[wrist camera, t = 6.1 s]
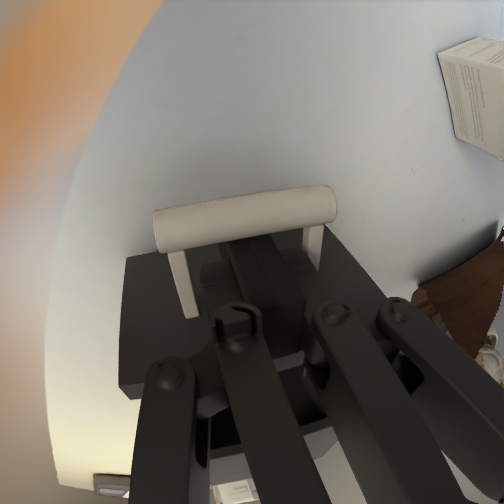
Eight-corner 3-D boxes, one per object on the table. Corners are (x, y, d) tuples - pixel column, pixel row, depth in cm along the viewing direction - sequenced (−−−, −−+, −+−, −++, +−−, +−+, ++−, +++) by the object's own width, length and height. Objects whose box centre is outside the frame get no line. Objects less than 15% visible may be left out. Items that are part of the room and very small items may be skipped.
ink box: (203, 437, 36) (221, 505, 27) (234, 430, 37) (255, 498, 27) (219, 448, 41) (235, 505, 32) (245, 441, 42) (264, 498, 33)
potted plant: (389, 349, 40) (445, 485, 17) (376, 251, 32) (496, 429, 10) (482, 303, 37) (557, 403, 14) (489, 203, 29) (617, 299, 6)
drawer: (102, 177, 12) (50, 293, 6) (329, 144, 14) (438, 217, 8) (179, 379, 23) (194, 461, 17) (302, 350, 25) (337, 422, 19)
